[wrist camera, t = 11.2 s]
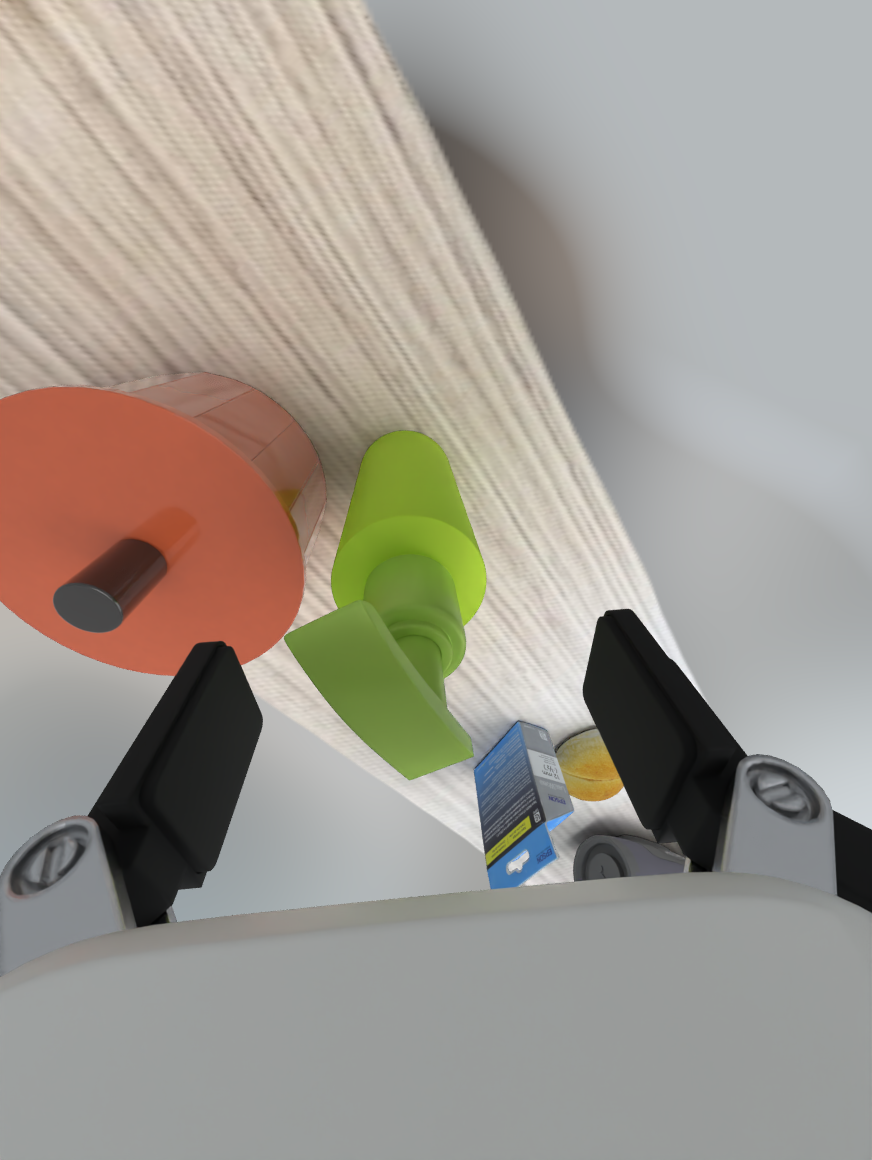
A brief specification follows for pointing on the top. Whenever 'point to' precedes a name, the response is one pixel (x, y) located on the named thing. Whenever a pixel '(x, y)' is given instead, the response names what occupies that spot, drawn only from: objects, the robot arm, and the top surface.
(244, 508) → the pot lid
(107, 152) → the top surface
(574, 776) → the bread roll
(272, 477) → the pot
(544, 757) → the label tape box
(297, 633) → the soap dispenser
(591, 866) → the bluetooth speaker
